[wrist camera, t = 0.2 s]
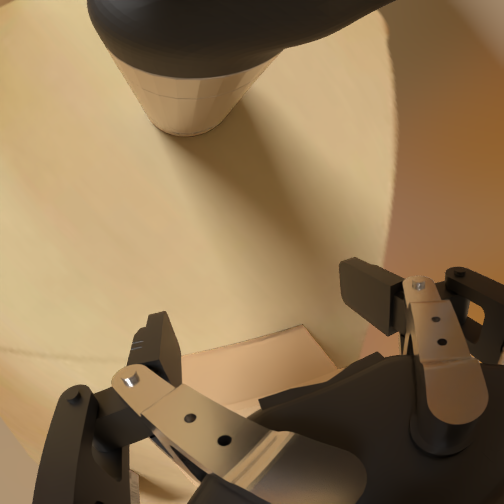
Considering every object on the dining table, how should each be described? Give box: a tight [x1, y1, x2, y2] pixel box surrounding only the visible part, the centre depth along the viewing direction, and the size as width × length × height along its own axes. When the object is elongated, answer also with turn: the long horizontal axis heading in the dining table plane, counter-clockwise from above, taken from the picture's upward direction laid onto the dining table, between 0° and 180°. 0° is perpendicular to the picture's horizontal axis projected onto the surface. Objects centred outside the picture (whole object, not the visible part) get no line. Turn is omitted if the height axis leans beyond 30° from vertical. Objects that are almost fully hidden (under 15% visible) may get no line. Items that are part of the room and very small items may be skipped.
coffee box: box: [129, 470, 140, 504], centre depth 29 cm, size 9×6×16 cm
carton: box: [181, 324, 338, 406], centre depth 31 cm, size 18×20×10 cm
